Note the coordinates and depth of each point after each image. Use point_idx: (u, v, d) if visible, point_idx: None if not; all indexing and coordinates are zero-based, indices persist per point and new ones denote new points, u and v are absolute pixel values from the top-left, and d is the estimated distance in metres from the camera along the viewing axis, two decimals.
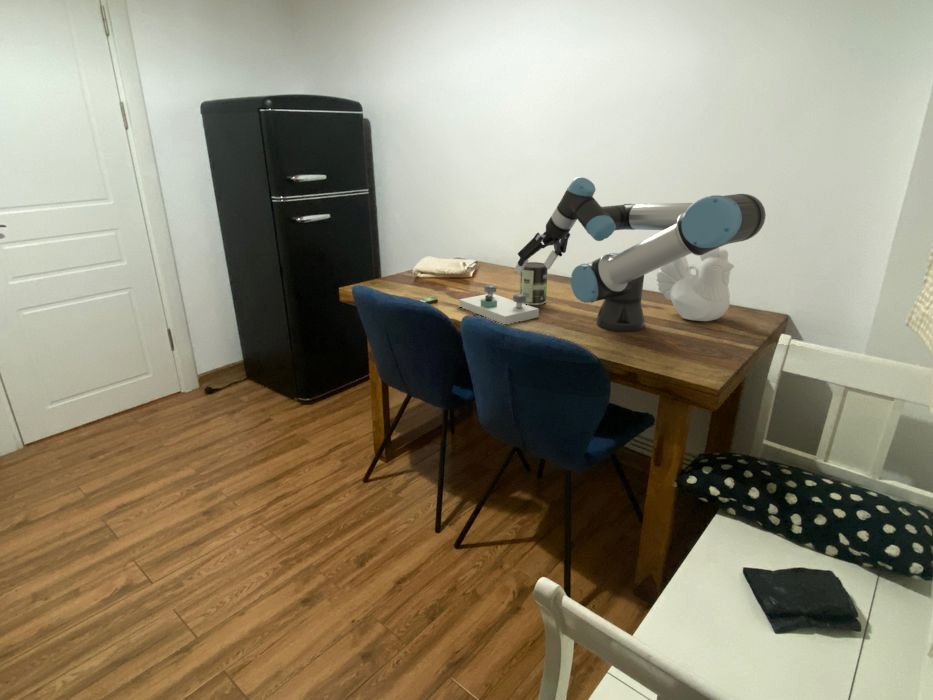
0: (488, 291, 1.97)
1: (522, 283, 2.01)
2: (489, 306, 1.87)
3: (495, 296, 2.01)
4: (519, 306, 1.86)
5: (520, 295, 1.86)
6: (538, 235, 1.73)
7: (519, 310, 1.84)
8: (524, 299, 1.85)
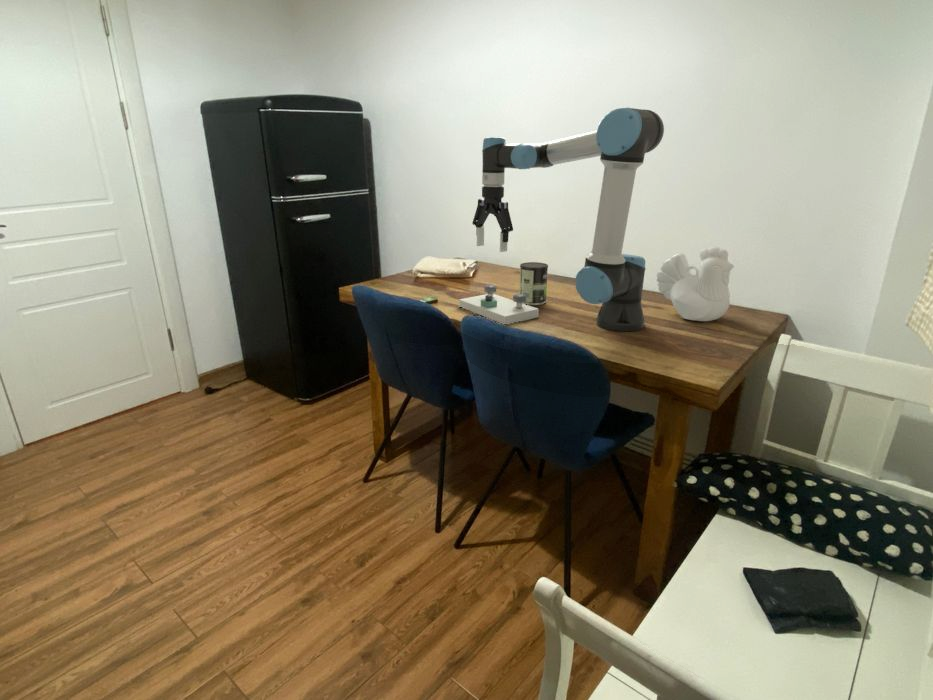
0: (488, 291, 1.97)
1: (522, 283, 2.01)
2: (489, 306, 1.87)
3: (495, 296, 2.01)
4: (519, 306, 1.86)
5: (520, 295, 1.86)
6: (504, 203, 1.82)
7: (519, 310, 1.84)
8: (524, 299, 1.85)
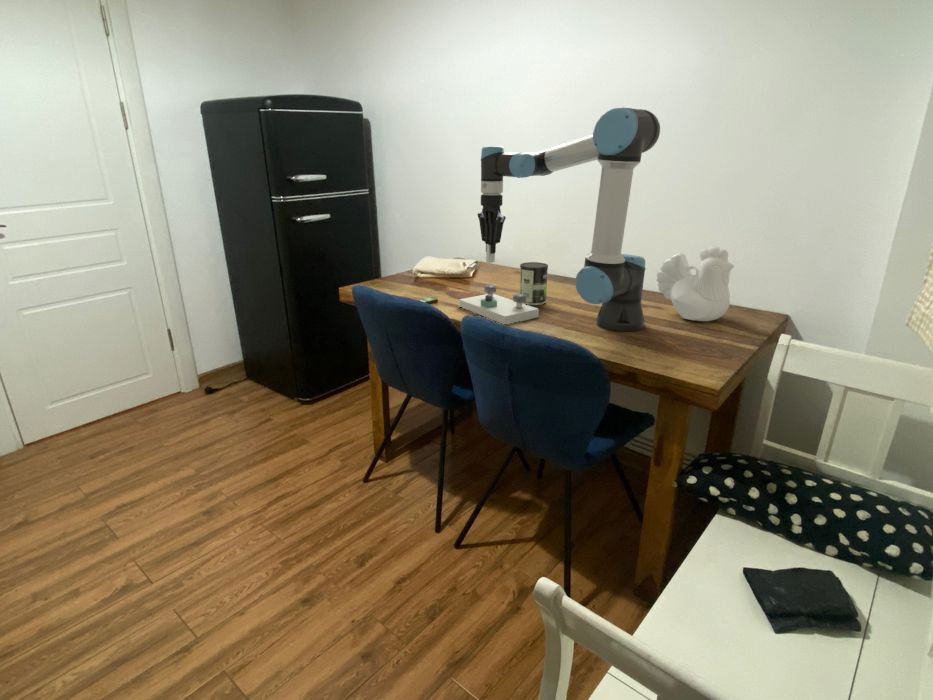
0: (488, 291, 1.97)
1: (522, 283, 2.01)
2: (489, 306, 1.87)
3: (495, 296, 2.01)
4: (519, 306, 1.86)
5: (520, 295, 1.86)
6: (502, 218, 1.84)
7: (519, 310, 1.84)
8: (524, 299, 1.85)
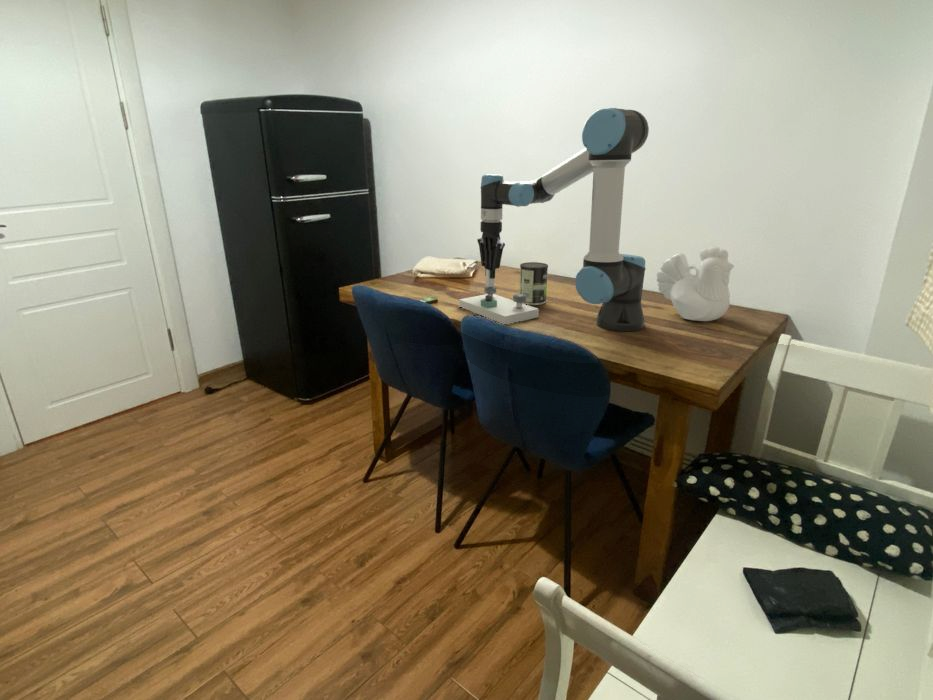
0: (488, 292, 1.97)
1: (522, 283, 2.01)
2: (489, 306, 1.87)
3: (495, 296, 2.01)
4: (519, 306, 1.86)
5: (520, 295, 1.86)
6: (501, 245, 1.88)
7: (519, 310, 1.84)
8: (524, 299, 1.85)
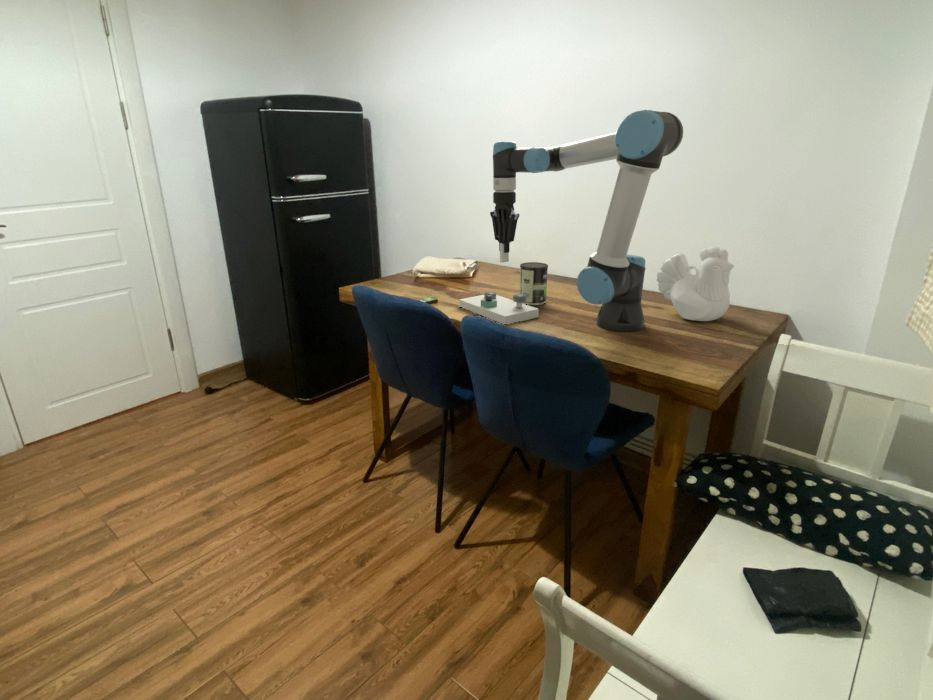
0: None
1: (522, 283, 2.01)
2: (489, 306, 1.87)
3: None
4: (519, 306, 1.86)
5: (520, 295, 1.86)
6: (515, 215, 1.79)
7: (519, 310, 1.84)
8: (524, 299, 1.85)
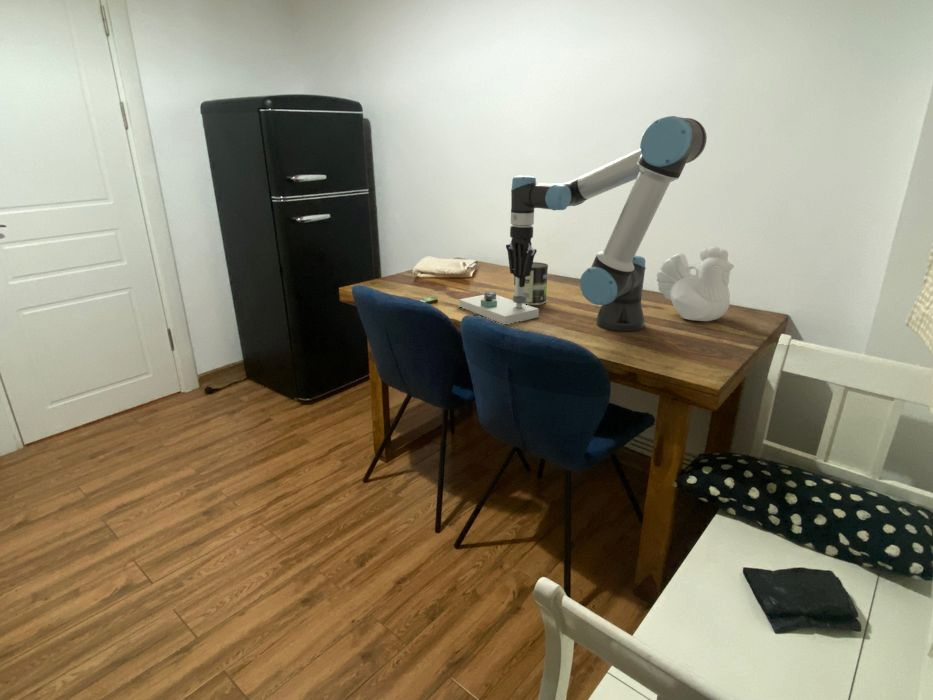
0: None
1: None
2: (489, 306, 1.87)
3: None
4: (519, 307, 1.86)
5: (520, 296, 1.86)
6: (533, 251, 1.75)
7: (519, 310, 1.84)
8: (524, 300, 1.85)
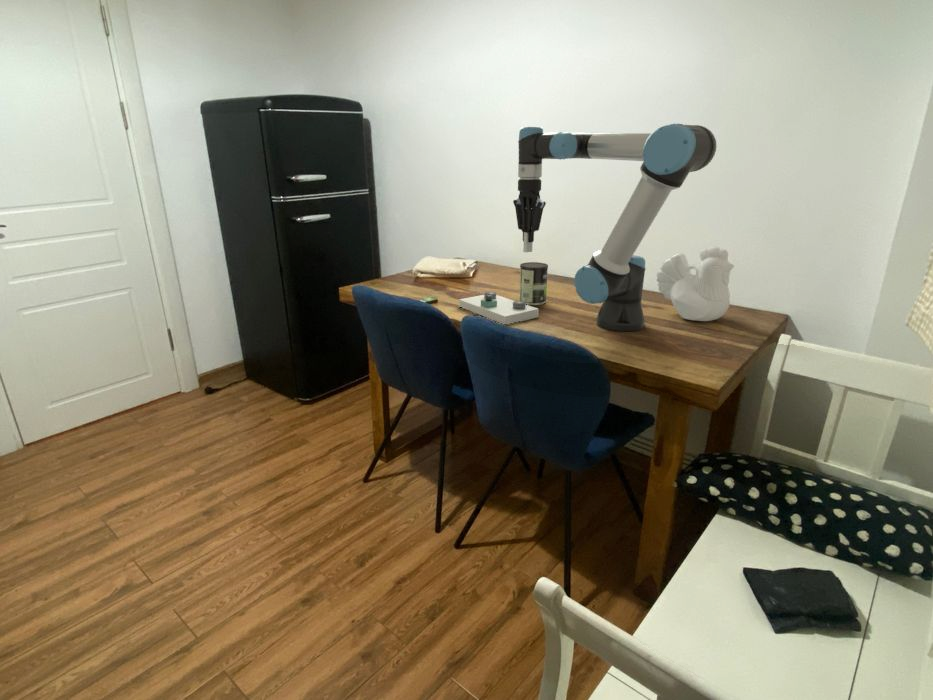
0: None
1: (522, 283, 2.01)
2: (489, 306, 1.87)
3: None
4: None
5: (520, 302, 1.87)
6: (542, 203, 1.73)
7: (519, 310, 1.84)
8: (524, 306, 1.86)
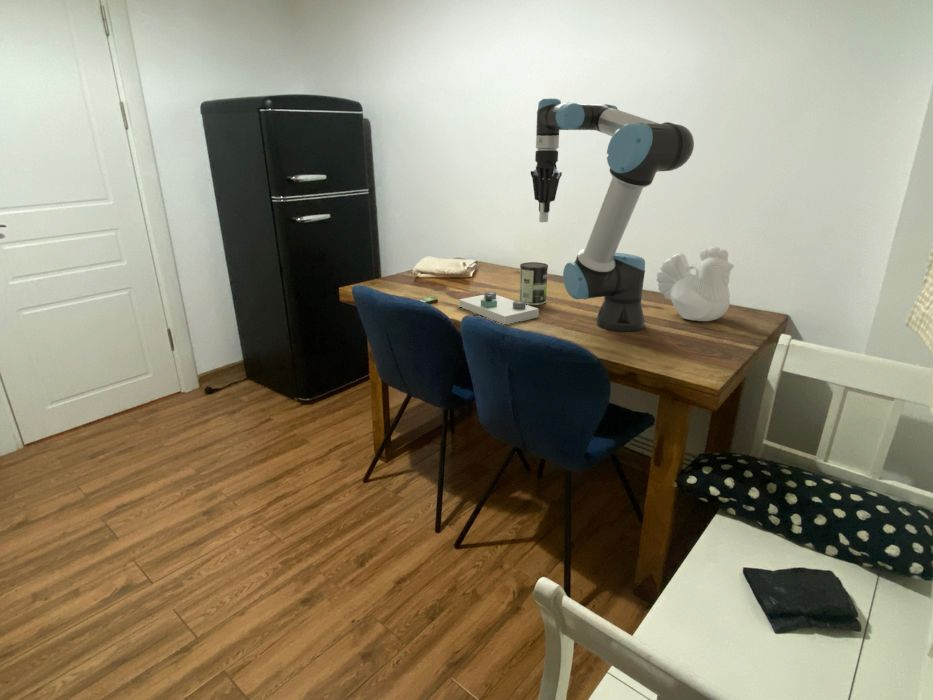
0: None
1: (522, 283, 2.01)
2: (489, 306, 1.87)
3: None
4: None
5: (520, 302, 1.87)
6: (558, 174, 1.79)
7: (519, 310, 1.84)
8: (524, 306, 1.86)
